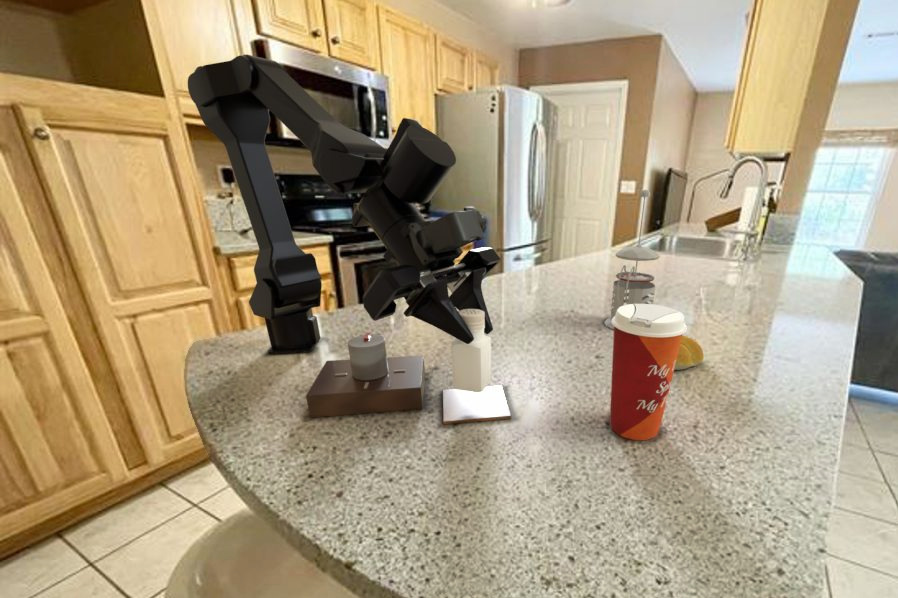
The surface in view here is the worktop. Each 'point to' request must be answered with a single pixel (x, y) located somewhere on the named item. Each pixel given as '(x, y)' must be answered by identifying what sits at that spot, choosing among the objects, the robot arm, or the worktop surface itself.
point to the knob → (368, 357)
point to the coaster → (474, 405)
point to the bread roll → (688, 354)
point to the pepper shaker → (472, 355)
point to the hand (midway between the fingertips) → (480, 336)
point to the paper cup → (643, 367)
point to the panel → (367, 389)
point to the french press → (633, 276)
